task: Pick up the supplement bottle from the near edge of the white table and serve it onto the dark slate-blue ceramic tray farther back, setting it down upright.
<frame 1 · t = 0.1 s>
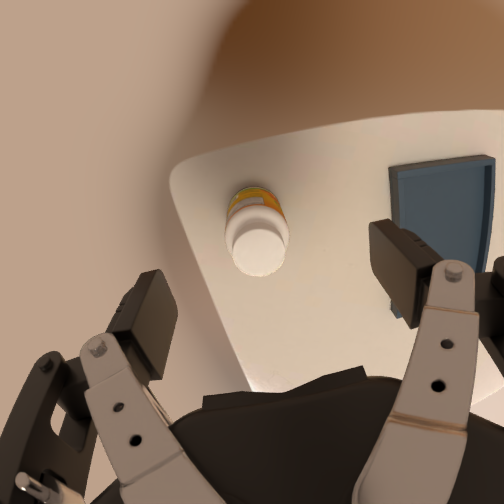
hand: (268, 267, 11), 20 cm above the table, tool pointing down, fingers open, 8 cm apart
tray: (442, 234, 33), on the table
supplement bottle: (254, 210, 31), on the table
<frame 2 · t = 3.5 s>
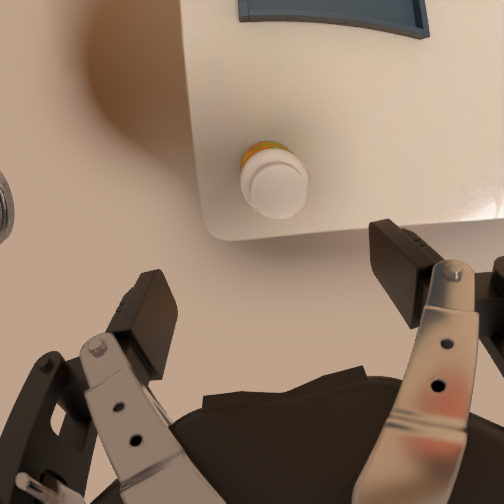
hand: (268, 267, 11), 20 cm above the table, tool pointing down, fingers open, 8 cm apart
supplement bottle: (267, 166, 29), on the table
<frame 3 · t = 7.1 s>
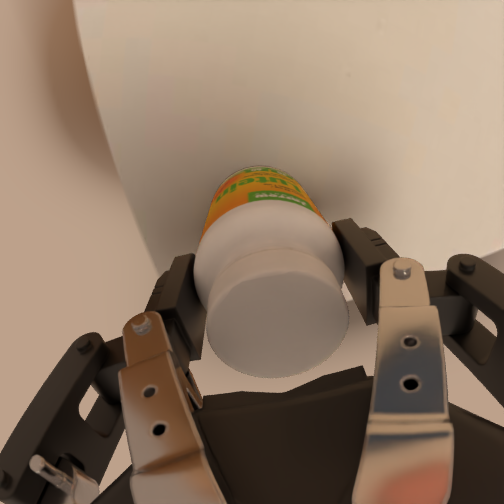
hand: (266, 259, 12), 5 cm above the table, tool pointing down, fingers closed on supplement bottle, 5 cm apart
supplement bottle: (259, 211, 17), on the table, touching gripper
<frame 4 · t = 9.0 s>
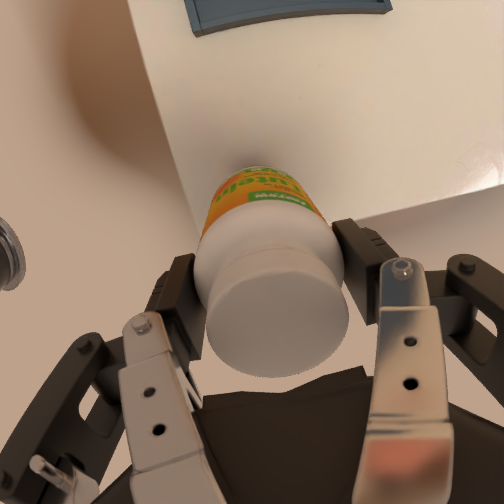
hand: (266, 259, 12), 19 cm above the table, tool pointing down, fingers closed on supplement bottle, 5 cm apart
supplement bottle: (259, 211, 17), point 14 cm above the table, touching gripper
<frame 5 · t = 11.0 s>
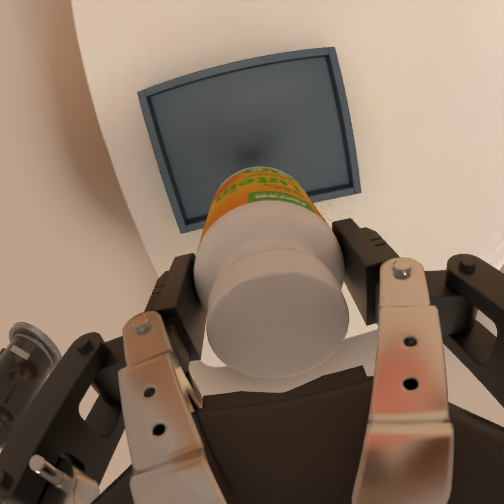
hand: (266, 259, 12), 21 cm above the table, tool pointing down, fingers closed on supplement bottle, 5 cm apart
tray: (253, 136, 29), on the table
supplement bottle: (259, 211, 17), point 15 cm above the table, touching gripper
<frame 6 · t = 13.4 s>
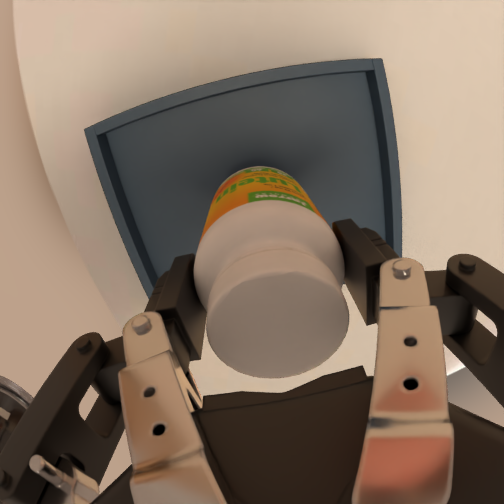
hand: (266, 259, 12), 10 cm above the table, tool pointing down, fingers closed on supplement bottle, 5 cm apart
tray: (257, 190, 21), on the table
supplement bottle: (259, 211, 17), point 4 cm above the table, touching gripper
when the fingers open (6 cm above the table, at t = 14.9 s): supplement bottle stays where it is, resting on tray.
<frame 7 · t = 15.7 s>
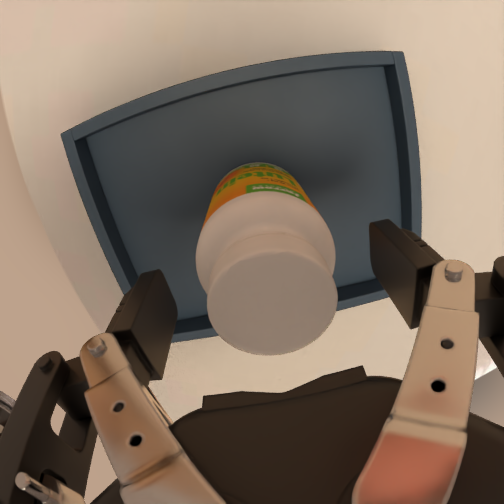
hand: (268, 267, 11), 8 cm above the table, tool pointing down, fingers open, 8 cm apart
tray: (258, 202, 18), on the table
supplement bottle: (257, 205, 18), resting on tray
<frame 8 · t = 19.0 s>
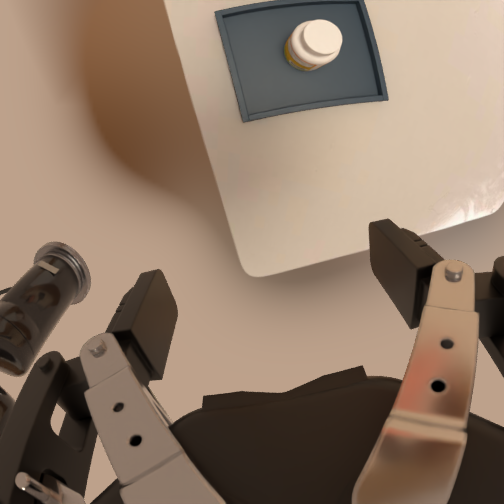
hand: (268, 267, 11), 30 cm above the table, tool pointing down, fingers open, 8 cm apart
tray: (303, 53, 32), on the table
supplement bottle: (303, 53, 32), resting on tray
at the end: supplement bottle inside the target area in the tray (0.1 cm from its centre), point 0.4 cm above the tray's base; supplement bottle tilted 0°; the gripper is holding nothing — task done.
